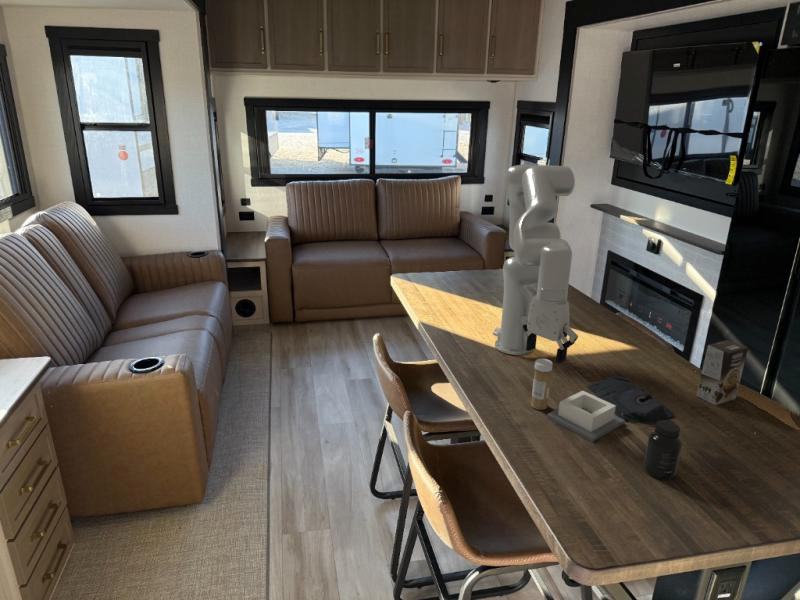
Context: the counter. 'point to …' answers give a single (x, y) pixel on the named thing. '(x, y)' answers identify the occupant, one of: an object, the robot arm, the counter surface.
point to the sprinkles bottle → (541, 384)
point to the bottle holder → (586, 415)
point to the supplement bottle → (663, 450)
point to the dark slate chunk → (630, 400)
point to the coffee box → (722, 372)
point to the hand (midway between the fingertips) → (545, 355)
